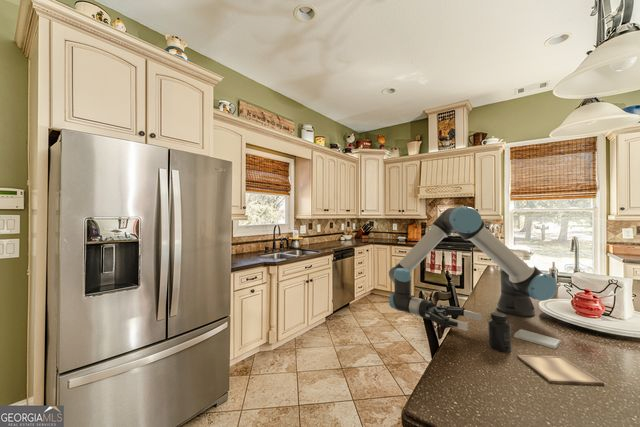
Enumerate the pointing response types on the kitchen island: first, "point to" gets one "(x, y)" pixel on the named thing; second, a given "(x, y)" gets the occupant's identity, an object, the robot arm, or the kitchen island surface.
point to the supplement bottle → (499, 332)
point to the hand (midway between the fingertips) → (475, 322)
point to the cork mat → (559, 370)
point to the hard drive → (537, 338)
